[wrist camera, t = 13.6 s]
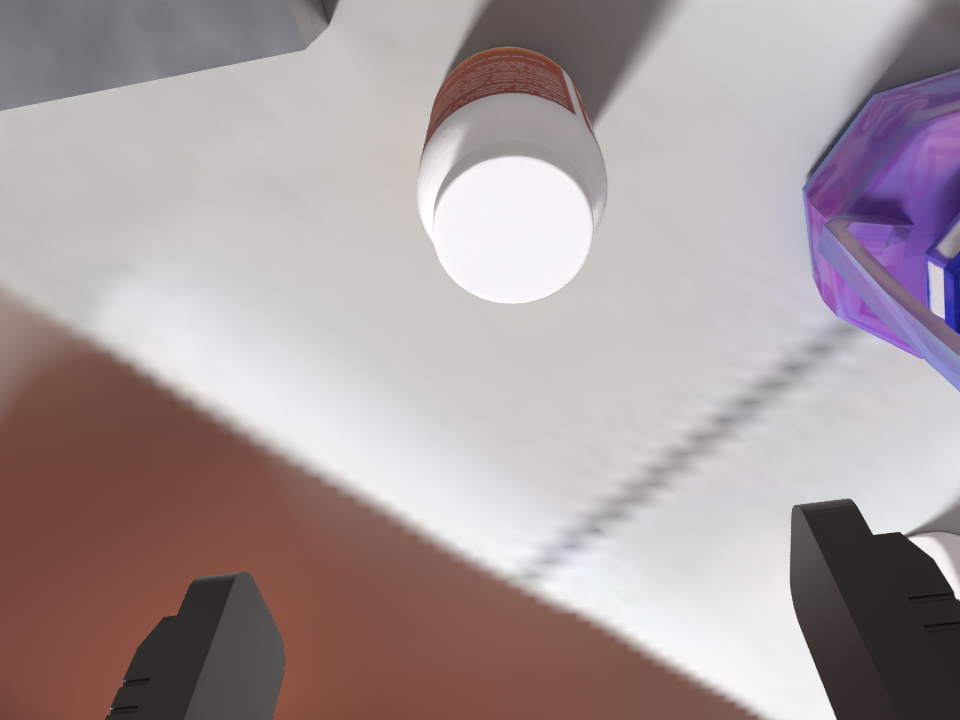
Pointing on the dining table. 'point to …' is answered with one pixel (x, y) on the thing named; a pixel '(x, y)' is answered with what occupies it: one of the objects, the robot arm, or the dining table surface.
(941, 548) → the beer glass
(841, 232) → the lantern
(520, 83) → the pill bottle
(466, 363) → the dining table surface
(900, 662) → the robot arm
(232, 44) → the bore housing
